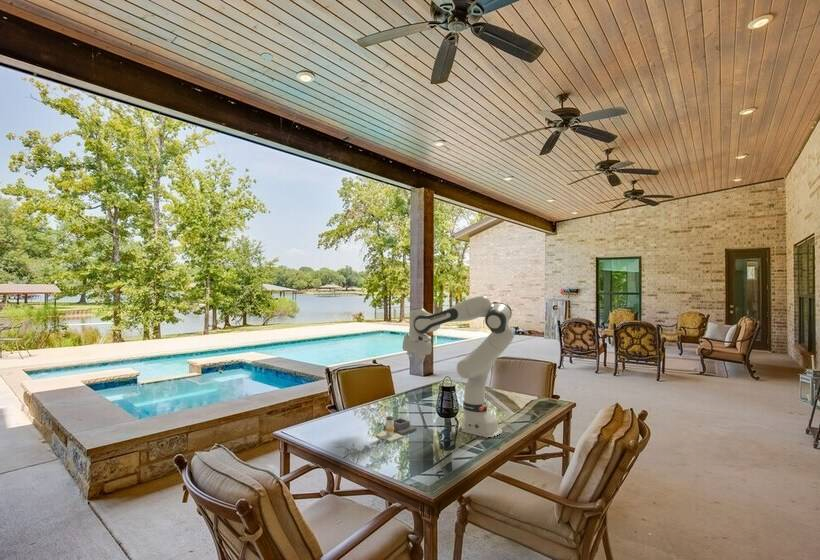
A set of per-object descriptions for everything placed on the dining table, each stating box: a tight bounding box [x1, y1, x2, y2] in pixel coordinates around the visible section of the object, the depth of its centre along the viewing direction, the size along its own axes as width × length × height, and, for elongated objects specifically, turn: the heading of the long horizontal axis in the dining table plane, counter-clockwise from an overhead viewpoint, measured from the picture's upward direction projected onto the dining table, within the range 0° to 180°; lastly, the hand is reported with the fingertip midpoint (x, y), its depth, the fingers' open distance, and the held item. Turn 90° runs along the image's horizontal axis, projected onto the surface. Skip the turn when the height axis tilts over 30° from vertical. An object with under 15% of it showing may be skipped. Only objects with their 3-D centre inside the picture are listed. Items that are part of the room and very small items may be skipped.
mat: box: [375, 430, 405, 443], centre depth 203 cm, size 11×9×1 cm
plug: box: [385, 415, 395, 437], centre depth 203 cm, size 4×4×9 cm
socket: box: [383, 417, 417, 436], centre depth 214 cm, size 14×11×4 cm
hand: (416, 360), depth 230 cm, fingers open, 8 cm apart
